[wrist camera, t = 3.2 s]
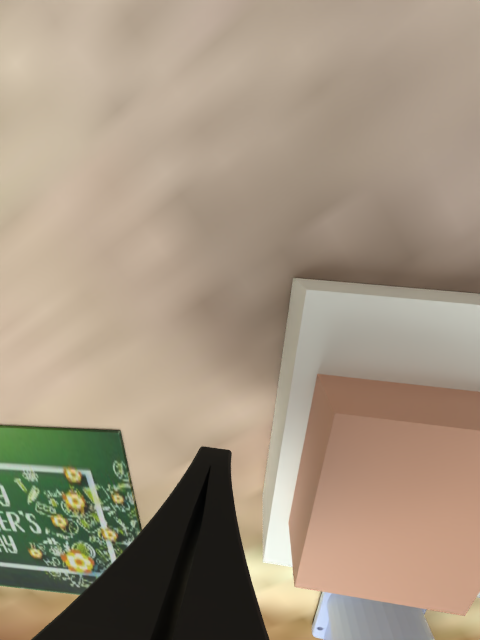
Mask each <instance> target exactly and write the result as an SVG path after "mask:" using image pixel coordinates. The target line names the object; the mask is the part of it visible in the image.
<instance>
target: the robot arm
mask: <svg viewBox="0 0 480 640" xmlns="http://www.w3.org/2000/svg"><path fill="white" fill-rule="evenodd" d="M231 454H232V453H231V451H230V450H225V449H217V448H210V447H201V448H200V449H199V451H198V453H197V455H196V456H195V458H194V460H193V461H192V463H191V465H190V466H189V468H188V470H187V471H186V473H185V474H184V476H183V477H182V479H181V480H180V482H179V483H178V484H177V486H176V487H175V489H174V490H173V492H172V493H171V494H170V496H169V497H168V498H167V500H166V501H165V502H164V504H163V505H162V506H161V508H160V509H159V510H158V511H157V513H156V514H155V515H154V517H153V518H152V519H151V520H150V521H149V523H148V524H147V525H146V526H145V527H144V529H143V530H142V531H141V532H140V533H139V534H138V536H137V537H136V538H135V539H134V540H133V541H132V542H131V544H130V545H129V546H128V547H127V548H126V549H125V550H124V551H123V552H122V553H121V554H120V555H119V557H118V558H117V559H116V560H115V561H114V562H113V563H112V564H111V565H110V566H109V567H108V568H107V569H106V570H105V571H104V572H103V573H102V574H101V575H100V576H99V577H98V578H97V579H96V580H95V581H94V582H93V583H92V584H91V585H90V586H89V587H88V588H87V589H86V590H85V591H84V592H83V593H82V594H81V595H80V596H79V597H78V598H77V599H76V600H75V601H73V602H72V603H71V604H70V605H69V606H68V607H67V608H66V609H65V610H64V611H63V612H62V613H61V614H60V615H58V616H57V617H56V618H55V619H54V620H53V621H52V622H51V623H49V624H48V625H47V626H46V627H45V628H44V629H43V630H42V631H40V632H39V633H38V634H37V635H36V636H35V637H34V638H33V639H31V640H269V637H268V634H267V631H266V628H265V625H264V622H263V618H262V615H261V612H260V608H259V605H258V602H257V598H256V595H255V592H254V588H253V585H252V581H251V578H250V574H249V570H248V566H247V563H246V559H245V554H244V550H243V546H242V542H241V537H240V532H239V527H238V522H237V517H236V511H235V505H234V498H233V491H232V482H231ZM426 610H427V609H422V608H416V607H410V606H404V605H398V604H392V603H386V602H381V601H375V600H369V599H363V598H357V597H351V596H345V595H339V594H333V593H328V592H322V594H321V598H320V601H319V605H318V608H317V611H316V615H315V618H314V622H313V625H312V634H313V636H314V637H316V638H321V639H324V640H435V639H434V637H433V634H432V632H431V630H430V628H429V625H428V623H427V621H426V619H425V616H424V614H425V612H426Z"/></svg>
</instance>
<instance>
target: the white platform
mask: <svg viewBox="0 0 480 640" xmlns="http://www.w3.org/2000/svg"><path fill="white" fill-rule="evenodd" d="M317 374H324V375H333V376H342V377H351V378H360V379H369V380H378V381H387V382H396V383H405V384H414V385H423V386H432V387H441V388H450V389H459V390H468V391H477V392H480V294H477V293H465V292H454V291H442V290H430V289H419V288H407V287H395V286H384V285H372V284H360V283H349V282H337V281H325V280H314V279H302V278H293V282H292V289H291V297H290V304H289V311H288V318H287V325H286V332H285V339H284V346H283V353H282V360H281V368H280V375H279V382H278V389H277V396H276V403H275V410H274V417H273V424H272V431H271V438H270V446H269V453H268V460H267V467H266V474H265V481H264V488H263V562H265V563H271V564H277V565H283V566H289V567H293V565H292V555H291V545H290V534H289V524H288V522H289V517H290V512H291V507H292V501H293V496H294V491H295V486H296V481H297V476H298V470H299V465H300V460H301V455H302V450H303V445H304V440H305V434H306V429H307V424H308V419H309V414H310V409H311V404H312V398H313V393H314V388H315V383H316V378H317ZM477 597H478V598H480V592H479V594H478V595H477Z"/></svg>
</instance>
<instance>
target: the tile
mask: <svg viewBox="0 0 480 640" xmlns="http://www.w3.org/2000/svg"><path fill="white" fill-rule="evenodd" d="M288 524H289V534H290V545H291V555H292V565H293V576H294V586H295V587H298V588H304V589H310V590H316V591H322V592H328V593H333V594H339V595H345V596H351V597H357V598H363V599H369V600H375V601H381V602H386V603H392V604H398V605H404V606H410V607H416V608H422V609H428V610H433V611H439V612H445V613H451V614H457V615H463V616H465V615H466V613H467V612H468V610H469V608H470V607H471V605H472V604H473V602H474V600H475V599H476V597H477V595H478V594H479V592H480V392H477V391H468V390H459V389H450V388H441V387H432V386H423V385H414V384H405V383H396V382H387V381H378V380H369V379H360V378H351V377H342V376H333V375H324V374H317V378H316V383H315V388H314V393H313V398H312V404H311V409H310V414H309V419H308V424H307V429H306V434H305V440H304V445H303V450H302V455H301V460H300V465H299V470H298V476H297V481H296V486H295V491H294V496H293V501H292V507H291V512H290V517H289V522H288Z"/></svg>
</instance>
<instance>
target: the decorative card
mask: <svg viewBox="0 0 480 640" xmlns="http://www.w3.org/2000/svg"><path fill="white" fill-rule="evenodd" d="M141 531H142V529H141V525H140V520H139V515H138V511H137V506H136V501H135V497H134V492H133V487H132V483H131V478H130V473H129V469H128V464H127V459H126V455H125V450H124V445H123V440H122V436H121V431H119V430H96V429H72V428H49V427H26V426H3V425H0V586H7V587H15V588H24V589H33V590H41V591H50V592H59V593H67V594H76V595H81V594H82V593H83V592H84V591H85V590H86V589H87V588H88V587H89V586H90V585H91V584H92V583H93V582H94V581H95V580H96V579H97V578H98V577H99V576H100V575H101V574H102V573H103V572H104V571H105V570H106V569H107V568H108V567H109V566H110V565H111V564H112V563H113V562H114V561H115V560H116V559H117V558H118V557H119V555H120V554H121V553H122V552H123V551H124V550H125V549H126V548H127V547H128V546H129V545H130V544H131V542H132V541H133V540H134V539H135V538H136V537H137V536H138V534H139V533H140V532H141Z"/></svg>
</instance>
